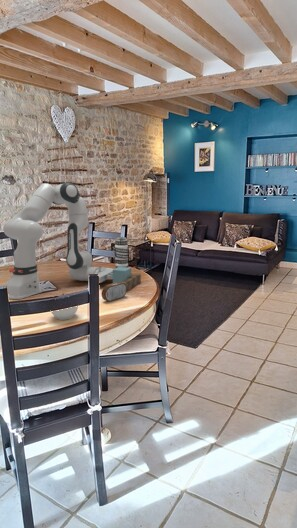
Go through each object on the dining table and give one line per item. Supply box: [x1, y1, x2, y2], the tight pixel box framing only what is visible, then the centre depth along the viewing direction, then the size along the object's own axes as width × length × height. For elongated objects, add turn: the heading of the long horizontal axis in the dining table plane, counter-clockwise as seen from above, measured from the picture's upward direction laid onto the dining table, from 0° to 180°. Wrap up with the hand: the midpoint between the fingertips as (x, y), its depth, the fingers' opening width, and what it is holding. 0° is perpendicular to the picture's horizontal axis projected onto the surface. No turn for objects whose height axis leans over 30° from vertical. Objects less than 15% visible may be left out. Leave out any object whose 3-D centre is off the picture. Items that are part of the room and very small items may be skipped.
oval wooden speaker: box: [101, 282, 128, 302], centre depth 180 cm, size 15×3×8 cm, turn 136°
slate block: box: [112, 267, 132, 284], centre depth 204 cm, size 8×8×10 cm
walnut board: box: [122, 273, 142, 293], centre depth 202 cm, size 22×3×5 cm, turn 159°
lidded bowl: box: [50, 292, 79, 321], centre depth 156 cm, size 13×13×11 cm
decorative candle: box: [113, 236, 130, 268], centre depth 223 cm, size 9×9×25 cm
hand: (115, 276), depth 205 cm, fingers closed
